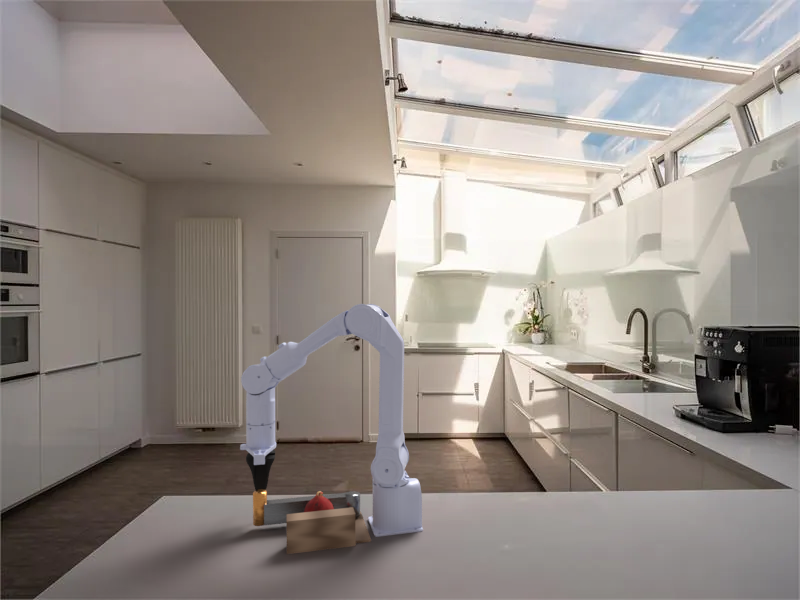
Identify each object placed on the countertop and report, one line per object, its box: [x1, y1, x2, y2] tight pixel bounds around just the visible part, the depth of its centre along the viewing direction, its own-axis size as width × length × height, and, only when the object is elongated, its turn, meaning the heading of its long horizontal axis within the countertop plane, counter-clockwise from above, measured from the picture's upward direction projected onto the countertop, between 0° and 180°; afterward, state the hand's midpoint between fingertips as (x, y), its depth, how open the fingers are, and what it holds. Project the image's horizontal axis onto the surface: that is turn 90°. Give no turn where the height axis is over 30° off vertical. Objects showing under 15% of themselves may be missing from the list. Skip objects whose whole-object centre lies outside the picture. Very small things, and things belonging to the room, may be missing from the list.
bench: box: [286, 507, 372, 555], centre depth 91 cm, size 15×13×6 cm
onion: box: [304, 490, 334, 512], centre depth 91 cm, size 6×6×8 cm
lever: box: [252, 489, 361, 527], centre depth 95 cm, size 21×3×6 cm, turn 103°
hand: (260, 489), depth 98 cm, fingers closed
